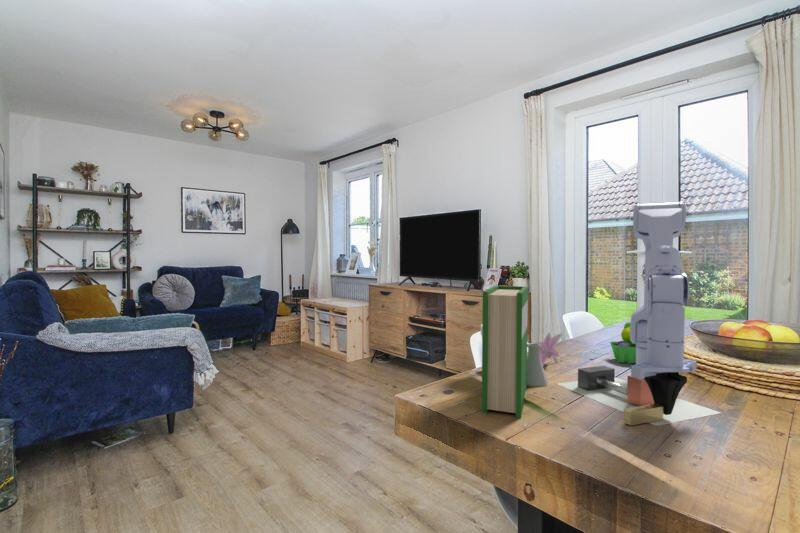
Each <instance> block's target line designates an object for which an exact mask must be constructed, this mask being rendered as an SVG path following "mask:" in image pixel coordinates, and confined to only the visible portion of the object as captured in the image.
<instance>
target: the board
mask: <svg viewBox="0 0 800 533" xmlns="http://www.w3.org/2000/svg"><path fill="white" fill-rule="evenodd" d="M614 383H616V384H619V385H622V386H625V387H627V380H624V379H621V378H618V377H616V376H615V378H614ZM556 385H557V386H560V387H562V388H565V389H567V390H569V391H572V392H575V393H577V394H578V395H581V396H583V397H587V398H589V399H591V400H593V401H596V402H598V403H601V404H603V405H605V406H608V407H610V408H612V409H615V410H617V411H619V412H623V413H624V409H627V408H633V407H639V406H637V405H634V404H632V403H629V402H627V395H625V394H622V393H619V392H617V391H614V390H611V389H609V388H605V389H598V390H591V391H587V390H584V389H582V388H579V387H578V380H575V381H567V382H560V383H558V382H557V383H556ZM719 414H722V412H720V411H717V410H714V409H711V408H708V407H705V406H702V405H699V404H696V403H694V402H691V401H687V400H684V399H681V398H678V397H677V399H676V402H675V405H674V408H673V411H672V413H671V414H669V415H665V414H663V420H658V421H652V422H647V423H648V424H651V425H653V426H655V427H659V426H665V425H670V424H674V423H678V422H679V423H680V422H683V421H690V420H693V419H700V418H704V417H710V416H715V415H719Z"/></svg>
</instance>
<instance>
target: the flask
mask: <svg viewBox="0 0 800 533" xmlns="http://www.w3.org/2000/svg"><path fill="white" fill-rule="evenodd" d="M535 343H536V342H533V343H531V342H530V343H529V342H527V386H531V387H547V386H548V384H549V381H548V377H547V375H546V372H545V369H544V365H542V362H541V357H540V348H541V345H540V344H535Z"/></svg>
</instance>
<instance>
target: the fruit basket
mask: <svg viewBox="0 0 800 533" xmlns="http://www.w3.org/2000/svg"><path fill="white" fill-rule="evenodd" d="M630 322H631V321H630ZM630 322H629V321H628V322H626V323H624V326H623V329H622V330H621V334H620V336H621V340H619V341H610V342H609V343H610V346H611V350H612V352H613V356H614V359H615V358H616V359H615V360H616V361H617V362H618V363H619V362H627V363H626V364H630V363H636V344H633V343H632V342H631V341H630Z"/></svg>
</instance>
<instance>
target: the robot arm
mask: <svg viewBox="0 0 800 533" xmlns="http://www.w3.org/2000/svg"><path fill="white" fill-rule="evenodd" d="M686 207H687V206H686V204H685V203H684V202H683V201H678V202H676V201H675V202H661V203H641V204H640V203H636V204H635V205H634V206H633V209H632V210H633V213H632V215H633V216H632V217H633V218H632V229H633V230H632V232H633V235H634V238H636V239H639V240H641V241H643V242H642V243H643V245H644V247H645V249H644V251H645V252H644V288H643V289H644V291H643V292H644V293H643V294H644V295H643V297H644V298H643V299H644V300H643V305H642V306H640V307H639V308H637V309H635V310H634V311H632V312H631V315H630V316H631V317H630V341H631V342H632V343H633V344H636V364H633V365H631V366H630V376H633V377H636V378H639V379H645V381H646V383H647V384H648V386H649V388H650V391H651V393H652V396H653V400H654V404H658V405H661V406H663V414H665V415H669V414H671V413H672V411H673V408H674V405H675V402H676V399H677V398H678V396H679V395H680V392H681V391H682V389H683V387H684V386H685V384H687V383H688V377H687V376H685V375H682V374H686V373H690V372H691V373H692V372H693V373H694V372H697V367H698V366H697V363H698V362H697V360H692V359H688V358H685V316H686V314H685V311H686V309H685V307H687V306H688V303H689V300H690V282H689V278H688V275H687V274H686V271H683V270H684V269H683V263H682V262H683V261H682V258H681V256H682V255H681V252H680V250H679V249H677V248H675V247H673V246H674V239H676V238H678V237H680V236H681V234H682V233H683V230H684V228H685V226H686V220H687V208H686ZM683 305H684V306H683Z"/></svg>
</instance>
